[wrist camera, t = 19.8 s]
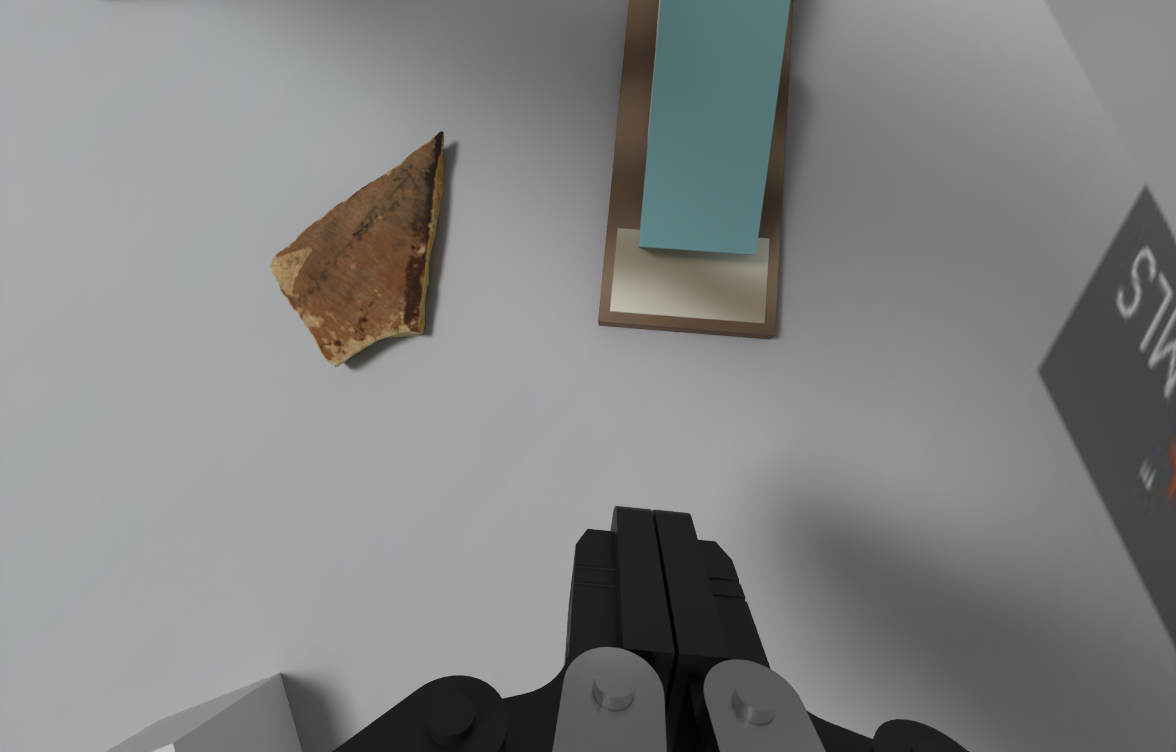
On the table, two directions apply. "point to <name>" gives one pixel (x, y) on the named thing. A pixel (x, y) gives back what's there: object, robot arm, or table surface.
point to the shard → (368, 259)
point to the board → (678, 277)
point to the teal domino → (711, 123)
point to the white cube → (225, 724)
